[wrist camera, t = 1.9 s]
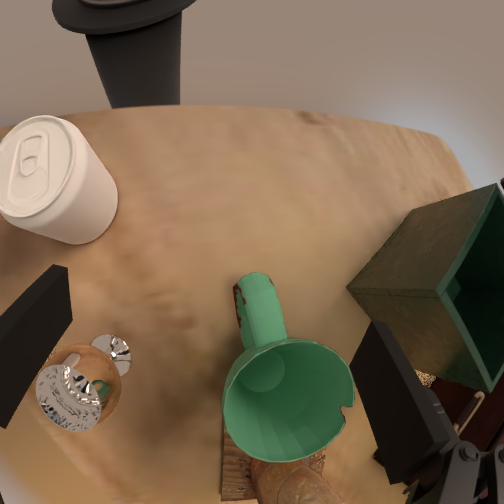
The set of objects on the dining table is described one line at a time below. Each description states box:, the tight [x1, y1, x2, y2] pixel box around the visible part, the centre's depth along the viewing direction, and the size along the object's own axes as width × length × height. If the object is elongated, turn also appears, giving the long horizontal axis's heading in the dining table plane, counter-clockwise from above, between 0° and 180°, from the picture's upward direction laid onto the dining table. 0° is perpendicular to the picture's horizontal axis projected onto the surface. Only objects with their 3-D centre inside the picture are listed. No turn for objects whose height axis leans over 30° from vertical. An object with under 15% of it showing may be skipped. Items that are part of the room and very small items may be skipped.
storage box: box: [374, 371, 504, 499], centre depth 27 cm, size 39×23×15 cm, turn 43°
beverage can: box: [0, 115, 118, 245], centre depth 21 cm, size 8×8×12 cm
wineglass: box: [36, 334, 132, 432], centre depth 21 cm, size 6×6×12 cm
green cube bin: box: [346, 183, 504, 394], centre depth 27 cm, size 14×14×14 cm
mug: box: [221, 272, 355, 462], centre depth 25 cm, size 15×10×10 cm
